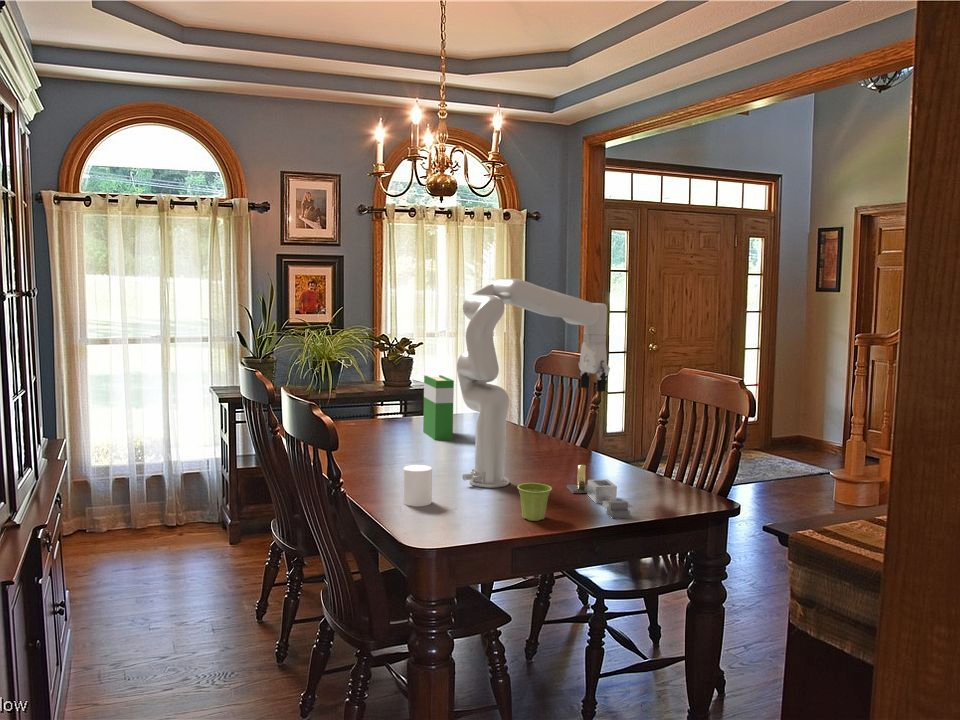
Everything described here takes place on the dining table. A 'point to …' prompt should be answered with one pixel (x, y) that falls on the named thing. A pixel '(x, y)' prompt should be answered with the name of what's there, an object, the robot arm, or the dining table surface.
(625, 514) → the grey boxy piece
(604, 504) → the slack link
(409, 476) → the white cylinder
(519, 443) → the dining table surface
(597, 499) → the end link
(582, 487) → the yellow peg stand
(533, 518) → the plant pot
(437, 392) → the hardback book
